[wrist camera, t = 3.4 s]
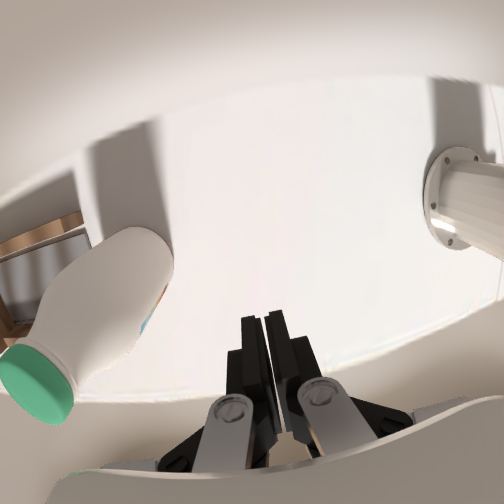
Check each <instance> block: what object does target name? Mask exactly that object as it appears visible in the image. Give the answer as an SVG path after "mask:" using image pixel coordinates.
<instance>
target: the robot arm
mask: <svg viewBox="0 0 504 504" xmlns="http://www.w3.org/2000/svg"><path fill="white" fill-rule="evenodd" d="M424 211H425V217H426V221H427V224H428V227H429V229H430V231H431V233H432V235H433V236H434V238H435V239H436V240H437V241H438V242H439V243H440V244H441V245H443V246H445V247H447V248H449V249H452V250H463V249H467V248H468V247H470V246H474V247H476V248H478V249H480V250H482V251H484V252H486V253H488V254H490V255H492V256H494V257H496V258H498V259H500V260H502V261H503V262H504V165H503V164H495V163H487V162H484V161H483V160H482V158H481V157H480V156H479V155H478V154H477V153H476V152H474V151H473V150H471V149H469V148H466V147H452V148H449V149H446V150H445V151H443V152H442V153H441V154H440V155H439V156H438V157H437V158H436V159H435V161H434V163H433V164H432V166H431V168H430V170H429V173H428V176H427V179H426V184H425V190H424ZM264 319H265V325H266V331H267V337H268V343H269V349H270V355H271V361H272V367H273V372H272V367H271V363H270V358H269V354H268V350H267V345H266V341H265V337H264V332H263V328H262V323H261V319H260V318H255V316H254V315H253V316H248V317H242V318H241V332H242V349H238V350H232V351H228V356H227V382H226V395H225V396H222V397H220V398H219V399H217V400H216V401H215V402H214V403H213V404H212V405H211V407H210V409H209V413H208V417H207V420H206V423H205V426H203V427H202V428H201V429H199V430H198V431H197V432H195V433H194V434H193V435H191V436H190V437H189V438H188V439H186V440H185V441H184V442H182V443H181V444H179V445H178V446H177V447H175V448H174V449H173V450H171V451H170V452H168V453H167V454H166V455H165V456H163V457H162V458H161V460H156V459H155V458H151V459H144V460H136V461H127V462H117V463H109V464H105V465H104V466H102V467H101V468H100V469H90V470H83V471H77V472H73V473H70V474H67V475H65V476H63V477H62V478H60V479H59V480H58V481H57V483H56V484H55V485H54V487H53V489H52V490H51V492H50V494H49V496H48V498H47V501H46V503H45V504H504V396H503V395H496V396H489V397H484V398H479V399H475V400H473V399H471V398H468V397H458V398H455V399H452V400H448V401H445V402H441V403H438V404H434V405H430V406H426V407H422V408H418V409H414V410H413V412H412V413H408V414H406V413H405V412H402V411H400V410H396V409H392V408H388V407H384V406H380V405H377V404H373V403H370V402H366V401H363V400H359V399H356V398H353V397H350V396H348V394H347V393H346V391H345V390H344V388H343V387H342V385H341V384H340V383H339V382H338V381H336V380H334V379H332V378H328V377H322V375H321V372H320V369H319V366H318V364H317V361H316V358H315V356H314V353H313V350H312V348H311V345H310V342H309V340H308V337H307V336H302V337H298V338H294V339H290V337H289V334H288V330H287V327H286V323H285V320H284V316H283V313H282V310H277V311H272V312H269V316H265V317H264ZM273 373H274V378H275V383H276V388H277V392H278V397H279V400H280V405H281V409H282V414H283V418H284V422H285V426H286V431H287V432H290V431H293V436H294V439H295V440H297V441H299V442H301V443H304V444H305V447H306V450H307V452H308V454H309V456H310V459H309V460H305V461H300V462H295V463H290V464H285V465H278V466H272V467H269V457H270V453H269V449H270V448H271V447H272V446H273V445H274V444H275V443H276V442H277V441H278V438H277V434H279V433H282V428H281V422H280V416H279V410H278V403H277V397H276V391H275V385H274V378H273Z"/></svg>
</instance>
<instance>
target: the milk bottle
mask: <svg viewBox="0 0 504 504" xmlns="http://www.w3.org/2000/svg"><path fill="white" fill-rule="evenodd" d="M173 270H174V263H173V257H172V254H171V251H170V249H169V247H168V246H167V244H166V243H165V241H164V240H163V239H162V238H161V237H160V236H159V235H157V234H156V233H155V232H153V231H151V230H149V229H146V228H143V227H128V228H125V229H123V230H121V231H119V232H117V233H115V234H114V235H112V236H110V237H109V238H107V239H106V240H104V241H103V242H101V243H99V244H98V245H96V246H95V247H93V248H92V249H90V250H89V251H87V252H86V253H84V254H83V255H82V256H80V257H79V258H77V259H76V260H74V261H73V262H72V263H71V264H69V265H68V266H67V267H66V268H64V269H63V270H62V271H61V272H60V273H59V274H58V275H57V276H56V277H55V278H54V279H53V280H52V281H51V283H50V284H49V286H48V287H47V289H46V291H45V292H44V294H43V297H42V299H41V302H40V305H39V308H38V312H37V315H36V318H35V321H34V323H33V326H32V328H31V330H30V332H29V334H28V335H27V337H23V338H19V339H18V340H17V341H16V342H15V344H14V345H13V346H11V347H10V348H9V349H8V350H7V351H6V352H5V353H4V354H3V355H2V357H1V358H0V379H1V381H2V383H3V385H4V387H5V388H6V390H7V391H8V393H9V394H10V395H11V396H12V398H13V399H14V400H15V401H16V402H17V403H18V404H19V405H20V406H21V407H22V408H23V409H24V410H26V411H27V412H28V413H29V414H31V415H32V416H34V417H35V418H37V419H39V420H41V421H43V422H45V423H48V424H53V425H59V424H61V423H62V422H64V421H65V420H66V418H67V416H68V415H69V413H70V411H71V409H72V407H73V404H74V402H75V401H76V400H77V399H78V396H79V390H78V388H79V387H80V386H81V385H82V384H83V383H84V382H86V381H87V380H88V379H90V378H91V377H93V376H95V375H96V374H99V373H101V372H103V371H105V370H107V369H109V368H111V367H113V366H114V365H115V364H117V363H118V362H120V361H121V360H122V359H123V358H124V357H125V356H126V355H127V354H128V353H129V351H130V350H131V349H132V348H133V346H134V345H135V343H136V341H137V340H138V338H139V337H140V335H141V333H142V332H143V330H144V328H145V326H146V324H147V323H148V321H149V319H150V317H151V315H152V314H153V312H154V310H155V308H156V307H157V305H158V303H159V301H160V299H161V298H162V296H163V294H164V292H165V291H166V289H167V287H168V285H169V283H170V281H171V279H172V276H173Z"/></svg>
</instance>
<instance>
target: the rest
mask: <svg viewBox="0 0 504 504" xmlns="http://www.w3.org/2000/svg"><path fill="white" fill-rule="evenodd" d="M82 224H84V222H83V219H82V215H81V211H78V212H75V213H72V214H70V215H67V216H65V217H62V218H59V219H57V220H54V221H52V222H49V223H47V224H44V225H42V226H39V227H37V228H35V229H32V230H30V231H28V232H25V233H23V234H21V235H19V236H16V237H14V238H12V239H10V240H8V241H5V242H3V243H1V244H0V257H3V256H5V255H7V254H10V253H12V252H15V251H17V250H20V249H22V248H25V247H28V246H30V245H33V244H35V243H38V242H41V241H43V240H46V239H49V238H52V237H54V236H57V235H60V234H63V233H65V232H68V231H70V230H72V229H74V228H76V227H78V226H80V225H82ZM90 249H92V248H91V245H90V242H89V239H88V236H87V233H83V234H80V235H77V236H74V237H71V238H68V239H65V240H62V241H59V242H56V243H53V244H50V245H47V246H44V247H41V248H38V249H36V250H33V251H30V252H27V253H25V254H22V255H19V256H17V257H14V258H11V259H9V260H6V261H4V262H1V263H0V354H1V353H2V352H3V351H4V350H5V349H6V348H7V347H11V346H13V345H14V344H15V342H16V341H17V340H18V339H19V338H23V337H27V335H28V334H29V332H30V330H31V328H32V326H33V324H26V325H17V324H16V322H15V321H19V320H28V319H35V318H36V315H37V312H38V308H39V305H40V302H41V299H42V297H43V294H44V292H45V291H46V289H47V287H48V286H49V284H50V283H51V281H52V280H53V279H54V278H55V277H56V276H57V275H58V274H59V273H60V272H61V271H62V270H63V269H64V268H66V267H67V266H68V265H69V264H71V263H72V262H73V261H74V260H76V259H77V258H79V257H80V256H82V255H83V254H84V253H86V252H87V251H89V250H90Z"/></svg>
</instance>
